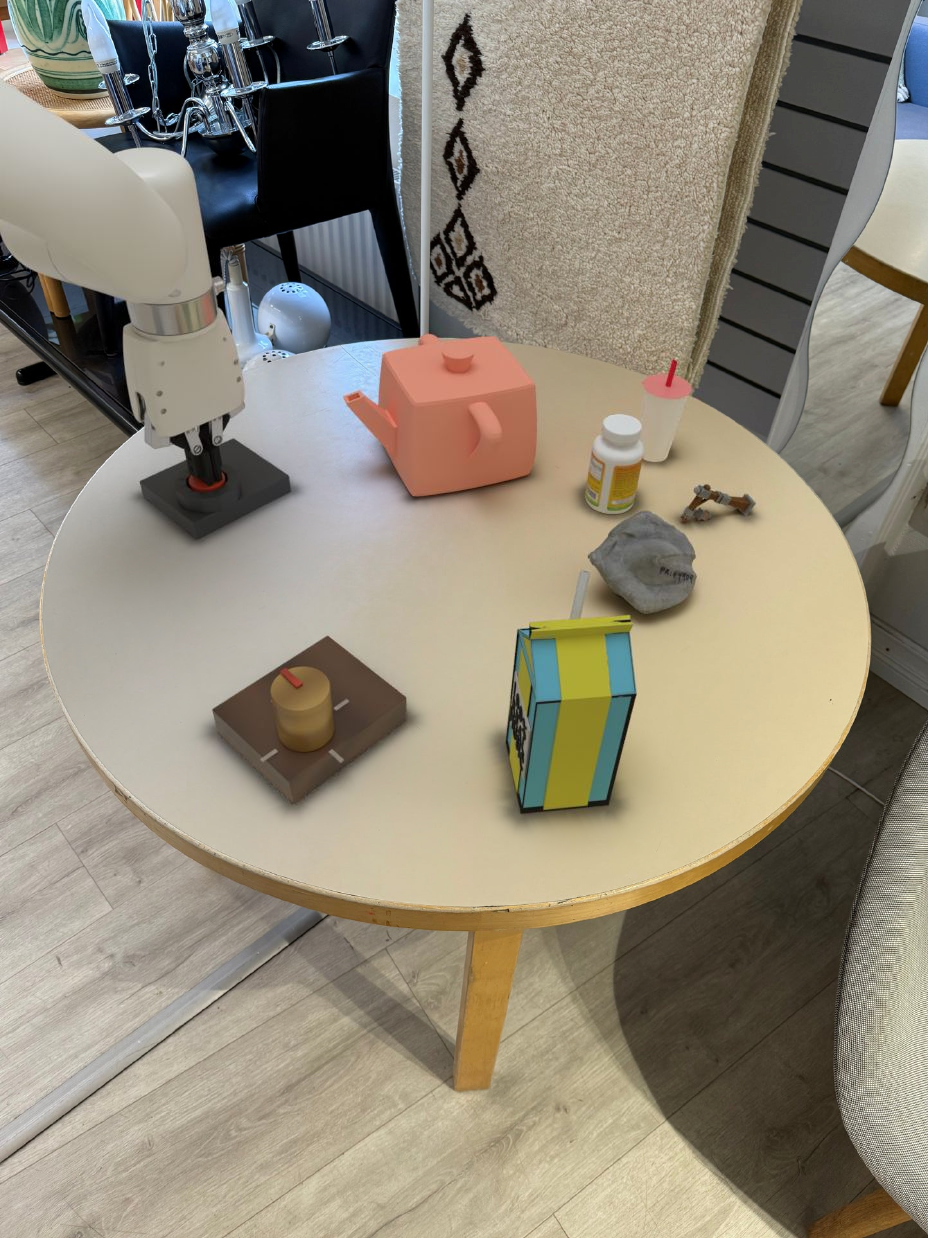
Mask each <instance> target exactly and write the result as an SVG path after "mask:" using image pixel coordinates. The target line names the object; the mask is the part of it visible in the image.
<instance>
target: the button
mask: <svg viewBox="0 0 928 1238" xmlns="http://www.w3.org/2000/svg"><path fill="white" fill-rule="evenodd" d="M222 477H223V480H221V481H219V482H217V481H215V482H214V484H213V485H211V486H208V485H206V484H205V483H204V482H202V481H201V480H200V479H198V478H195V477H193V476H192V475H191V476H190V477H189V485H190V489H191V490H193V491H197V492H209V491H215V490H217V489H220V488H222V487H223V486H224V485H225V484H226V481H225V476H224V474H223V473H222Z"/></svg>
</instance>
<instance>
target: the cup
mask: <svg viewBox="0 0 928 1238" xmlns="http://www.w3.org/2000/svg"><path fill="white" fill-rule="evenodd" d="M677 367H678V362H677V360H675V359H673V358H672V359H671V364H670V367H669V371H668V373H656V374H651V375H648V376H646V377H645V378H644V379H643V381H642V397H641V398H642V399H641V409H640V420H639V421H640V422H641V425H642V430H641V436H640V439H639V440H640V441H641V442H642V444H643V447H644V455H643V460H644V461H647V462H651V463H659V462H663V461H665V460H667V458H668V455H669V453H670V450H671V447H672V444H673V442H674V439H675V437H676V433H677V431H678V428H679V425H680V421H681V419H682V416H683V413H684V410H685V408H686V404H687V401H688V398H689V396H690V394H691V392H692V385H691V384H690V382H689V381H687V380H686V379H685V378H682V377H681V376H678V375H675V374H676V369H677Z"/></svg>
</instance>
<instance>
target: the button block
mask: <svg viewBox="0 0 928 1238" xmlns="http://www.w3.org/2000/svg"><path fill="white" fill-rule="evenodd" d="M219 449H220V455H221V460H222V467H221V472H222V473H223V474H224V476H225V481H226V484H225V485H224V486H223V487H222V488H220V489H217V490H215V491H209V492H197V491H193V490H191V489H190V485H189V477H190V476H191V474H190V472H189V470H188V465H187V461H186V459H185V460H182V461H181V462H180V461H179V462H178V463H176V464H173V465H171V466H169V467H167V468H164V469H163V470H160V471H159V472H156V473H154V474H152V475H150V476H147V477H145V478H142V479H141V480H139V485H140V489H141V493H142V496H143V498H144V499H145V500H146V501H147V502H149V503H150V504H151V505H152V506H153V507H155V508H156V509H158V510H159V511H160V512H161V513H162V514H164V515H165V516H166V517H168V518H169V519H170V520H171V521H172V522H174V523H175V524H176V525H178V526H179V527H180V528H181V529H183V530H184V531H185V532H186V533H188V534H189V535H190V536H191V537H193V538H194V539H195V540H197V541H198V540H200V539H202V538H204V537H206V536H208V535H210V534H213V533H214V532H215V531H218V530H220V529H222V528H224V527H225V526H227V525H230V524H231V523H234V522H235V521H237V520H239V519H241V518H243V517H245V516H247V515H248V514H250V513H253V512H254V511H256V510H258V509H260V508H262V507H265V506H266V505H268V504H270V503H271V502H274V501H276V500H278V499H279V498H282V497H284V496H285V495H288V494H290V493H291V492H292V489H291V481H290V475H288V473H286V472H284V470H281V469H280V468H279V467H277V466H276V465H275V464H272V463H271V462H270V461H269V460H266V459H265V458H263V457H262V456H260V455H259V454H257V453H256V452H255V451H253V450H252V449H251V448H249V447H247V446H246V445H245V444H243V443H242V442H240V441H238V440H237V439H235V438H234V437H232V438H231V439H228V440H226V441H224V442H222V443H221V444H220V445H219Z"/></svg>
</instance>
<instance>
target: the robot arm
mask: <svg viewBox="0 0 928 1238" xmlns="http://www.w3.org/2000/svg"><path fill="white" fill-rule="evenodd" d="M194 173H195V172H194V170H193V168H192V167H191V165H190V163H189V161H188V160H187V159H186V158H185V157H184V156H183V155H181V154H180V153H178V152H175V151H173V150H170V149H166V148H159V147H134V148H127V149H123V150H120V151H117V152H114V153H113V152H112V151H110V150H109V149H108V148H107V147H106V146H104V145H102V144H101V143H100V142H99V141H98V140H97V141H96V139H94V138H92V137H91V136H90V135H88V134H87V133H85V132H84V131H83V130H80V129H79V128H78V127H76V126H75V125H73V124H71V122H68V121H67V120H65V119H64V118H62V117H61V116H59V115H58V114H56V113H54V112H52V111H51V110H49V109H48V108H46V107H45V106H43V105H41V104H40V103H38V102H37V101H35V100H34V99H33V98H31V97H30V96H28V95H26V94H25V93H23V92H22V91H21V90H19V89H18V88H17V87H15V86H13V85H12V84H10V83H9V82H7V81H6V80H4V79H3V78H1V77H0V236H1V238H2V242H3V243H4V246H5V247H6V248H7V250H8V251H9V252H10V254H11V255H12V256H13V258H15V260H17V261H18V262H19V263H21V264H22V265H23V266H25V267H26V268H28V269H29V270H32V271H34V272H36V273H38V274H40V275H43V276H46V277H49V278H51V279H55V280H58V281H61V282H64V283H68V284H71V285H74V286H78V287H82V288H85V289H89V290H92V291H95V292H99V293H101V294H105V295H108V296H110V297H114V298H117V299H120V300H122V301H123V300H124V301H125V303H126V307H127V311H128V316H129V320H130V323H127V324H125V325H124V326H123V329H122V350H123V351H122V352H123V363H124V373H125V379H126V385H127V391H128V396H129V401H130V406H131V411H132V414H133V416H134V418H135V420H136V421H137V422H138V423H140V424H141V423H144V428H143V429H144V433H143V434H144V437H143V438H144V442H145V444H146V445H148V446H149V447H151V449H154V450H157V449H162V448H163V449H164V448H168V447H170V446H175V447H177V448H180V449H182V450H183V452H184V456H185V460H186V461H187V465H188V470H189V472H190V474H191V475H192V476H193V477H195V478H198V479H200V480H201V481H202V482H204V483H205V484H206V485H208V486H211V485H213V484H214V482H215V481H217V482H219V481H221V480H223V477H222V472H221V467H222V460H221V455H220V449H219V445H220V444H222V443H223V441H224V431H225V430H226V427H227V426H228V424H229V423H230V420H231V419H233V418H234V417H237V415H239V414H240V413H241V412H243V411H244V409H246V403H245V398H246V387H245V381H244V374H243V370H242V366H241V361H240V357H239V354H238V350H237V346H236V342H235V340H234V336H233V333H232V330H231V328H230V325H229V323H228V321H227V318H226V316H225V314H224V312H223V310H222V309H221V308H220V307H218V306H219V304H218V299H217V296H218V295H219V294H220V293H221V292H224V291H225V290H226V284H225V282H224V280H223V278H222V277H221V276H219V275H217V276H215V277H213V276H212V272H211V265H210V259H209V254H208V249H207V243H206V237H205V232H204V231H205V229H204V224H203V219H202V213H201V207H200V200H199V194H198V188H197V183H196V179H195V174H194Z"/></svg>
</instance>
